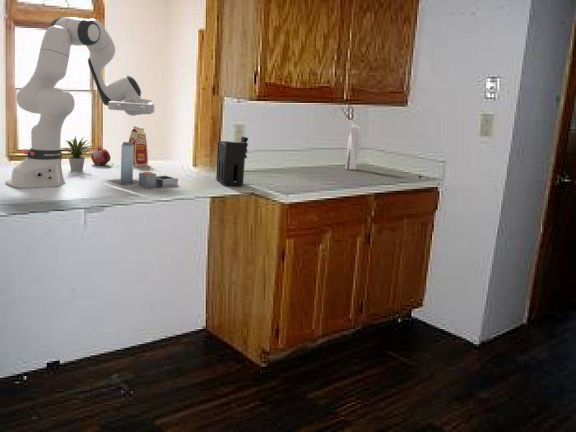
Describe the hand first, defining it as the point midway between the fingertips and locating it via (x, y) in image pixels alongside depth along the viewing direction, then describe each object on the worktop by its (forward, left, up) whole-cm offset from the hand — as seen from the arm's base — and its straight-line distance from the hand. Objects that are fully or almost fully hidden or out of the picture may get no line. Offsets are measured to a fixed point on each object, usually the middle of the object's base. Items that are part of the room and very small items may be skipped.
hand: (130, 107), depth 262 cm
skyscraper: (+139, -27, -32) cm, 145 cm away
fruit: (+9, +37, -32) cm, 50 cm away
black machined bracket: (+38, -27, -32) cm, 57 cm away
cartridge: (-8, -9, -31) cm, 33 cm away
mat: (-8, -9, -32) cm, 34 cm away
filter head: (-1, -21, -32) cm, 38 cm away
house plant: (-11, +26, -32) cm, 43 cm away
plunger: (-6, -21, -27) cm, 35 cm away
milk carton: (+28, +33, -32) cm, 54 cm away
